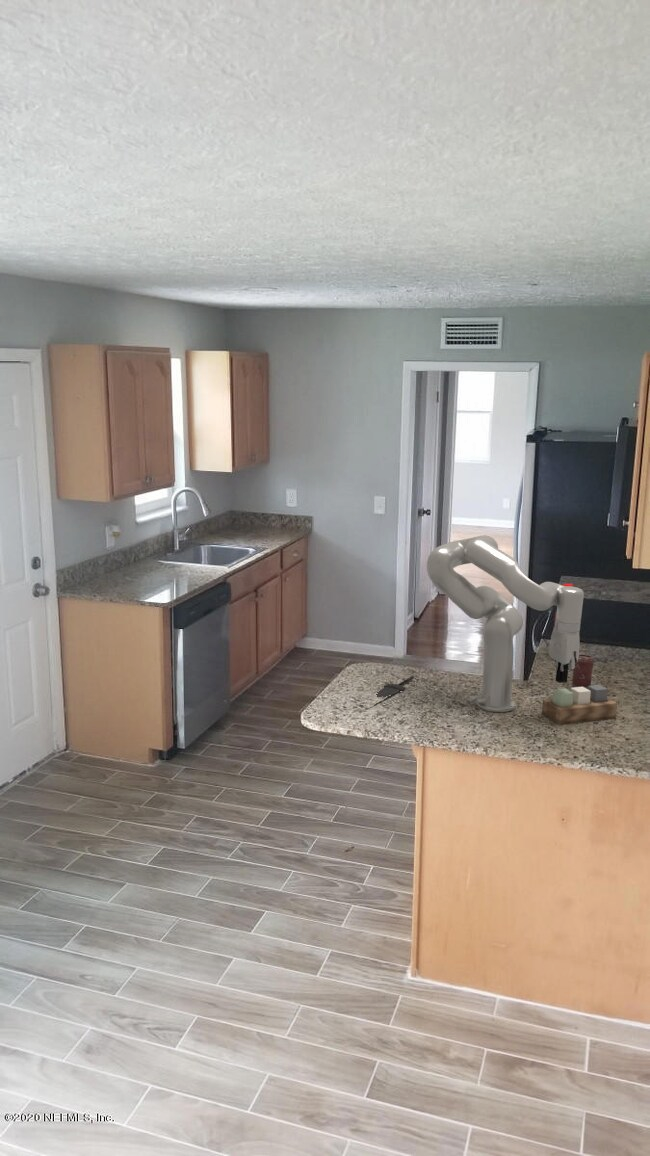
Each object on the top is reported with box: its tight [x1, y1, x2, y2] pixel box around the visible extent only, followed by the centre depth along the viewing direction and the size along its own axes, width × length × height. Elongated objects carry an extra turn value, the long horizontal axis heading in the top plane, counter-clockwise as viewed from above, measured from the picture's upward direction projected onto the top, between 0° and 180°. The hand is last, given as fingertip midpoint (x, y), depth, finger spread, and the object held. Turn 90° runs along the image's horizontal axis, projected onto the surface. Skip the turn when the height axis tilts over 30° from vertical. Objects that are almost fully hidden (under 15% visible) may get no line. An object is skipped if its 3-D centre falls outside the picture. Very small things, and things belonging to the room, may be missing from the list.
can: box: [571, 654, 594, 689], centre depth 300 cm, size 6×6×14 cm
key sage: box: [552, 688, 573, 707], centre depth 280 cm, size 4×4×7 cm
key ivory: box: [570, 687, 591, 705], centre depth 282 cm, size 4×4×7 cm
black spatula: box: [376, 675, 415, 697], centre depth 302 cm, size 7×35×2 cm, turn 145°
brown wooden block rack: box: [541, 697, 618, 726], centre depth 282 cm, size 21×10×5 cm, turn 109°
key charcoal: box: [588, 684, 609, 703], centre depth 284 cm, size 4×4×7 cm
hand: (561, 681), depth 279 cm, fingers closed
